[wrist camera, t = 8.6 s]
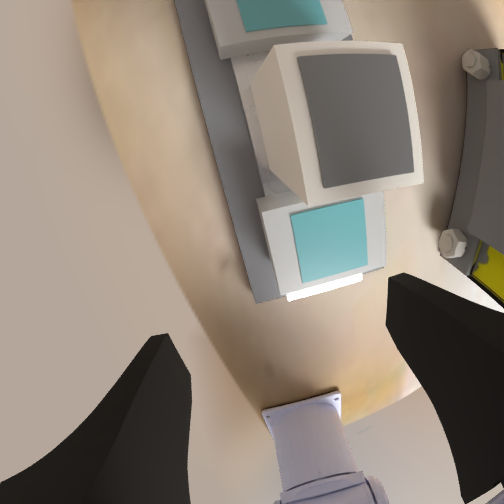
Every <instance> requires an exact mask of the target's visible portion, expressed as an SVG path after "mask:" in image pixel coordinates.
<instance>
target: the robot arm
mask: <svg viewBox="0 0 504 504" xmlns="http://www.w3.org/2000/svg"><path fill="white" fill-rule="evenodd" d="M386 327H387V329H388V331H389V333H390V335H391V337H392V339H393V341H394V343H395V345H396V347H397V349H398V350H399V352H400V353H401V355H402V356H403V358H404V359H405V361H406V362H407V364H408V365H409V367H410V368H411V370H412V371H413V373H414V374H415V376H416V378H417V379H418V381H419V382H420V384H421V385H422V387H423V388H424V390H425V391H426V393H427V394H428V396H429V398H430V400H431V402H432V404H433V405H434V407H435V410H436V412H437V414H438V417H439V419H440V421H441V423H442V426H443V428H444V431H445V434H446V437H447V439H448V442H449V445H450V448H451V452H452V455H453V458H454V462H455V465H456V470H457V474H458V480H459V484H460V491H461V497H462V498H463V501H464V503H465V504H467V503H469V502H471V501H473V500H474V499H476V498H478V497H480V496H481V495H483V494H484V493H486V492H488V491H489V490H491V489H492V488H494V487H495V486H497V485H498V484H499V483H500V482H501V484H502V486H503V488H504V313H502V312H498V311H495V310H493V309H490V308H487V307H485V306H482V305H479V304H477V303H474V302H472V301H469V300H467V299H465V298H462V297H460V296H458V295H455V294H453V293H451V292H449V291H446V290H444V289H442V288H440V287H437V286H435V285H433V284H431V283H428V282H426V281H424V280H422V279H419V278H417V277H414V276H412V275H409V274H406V273H401V274H398V275H395V276H392V277H389V278H388V298H387V314H386ZM191 406H192V391H191V375H190V373H189V371H188V369H187V367H186V366H185V364H184V362H183V360H182V359H181V357H180V355H179V353H178V351H177V350H176V348H175V346H174V344H173V342H172V340H171V338H170V336H169V334H167V333H166V334H161V335H155V336H151V337H150V338H149V339H148V341H147V342H146V343H145V344H144V346H143V347H142V348H141V350H140V351H139V352H138V354H137V355H136V356H135V358H134V359H133V360H132V362H131V363H130V364H129V366H128V367H127V368H126V370H125V371H124V372H123V374H122V375H121V377H120V378H119V379H118V381H117V382H116V383H115V385H114V386H113V387H112V388H111V389H110V391H109V392H108V393H107V395H106V396H105V397H104V398H103V400H102V401H101V402H100V403H99V404H98V406H97V407H96V408H95V409H94V410H93V412H92V413H91V414H90V415H89V416H88V417H87V418H86V419H85V420H84V421H83V422H82V423H81V424H80V425H79V427H78V428H77V429H76V430H75V431H74V432H73V433H71V434H70V435H69V436H68V437H67V438H66V439H65V440H64V441H62V442H61V443H60V444H59V445H58V446H57V447H56V448H54V449H53V450H52V451H51V452H50V453H48V454H47V455H46V456H44V457H43V458H42V459H40V460H39V461H37V462H36V463H34V464H33V465H32V466H30V467H28V468H27V469H25V470H23V471H22V472H20V473H18V474H16V475H14V476H12V477H11V478H9V479H7V480H5V481H2V482H1V483H0V504H191V503H190V495H189V484H188V471H187V460H188V444H189V431H190V418H191ZM262 416H263V418H264V420H265V422H266V425H267V427H268V429H269V431H270V433H271V436H272V438H273V440H274V442H275V447H276V453H277V458H278V464H279V470H280V476H281V482H282V487H283V492H281V493H280V497H281V500H277V501H275V502H274V504H389V501H388V498H387V495H386V492H385V490H384V488H383V486H382V484H381V482H380V481H379V480H378V479H377V478H374V477H372V476H367V477H364V474H363V471H358V468H357V465H356V462H355V459H354V457H353V454H352V451H351V448H350V445H349V442H348V439H347V436H346V434H345V431H344V428H343V425H342V422H341V393H340V391H334V392H331V393H328V394H324V395H321V396H318V397H314V398H310V399H307V400H303V401H299V402H295V403H291V404H287V405H283V406H279V407H274V408H270V409H265V410H263V411H262ZM486 504H504V490H502V491H501V492H500V493H499V494H497V495H496V496H495V497H494V498H492V499H491V500H490V501H489V502H487V503H486Z"/></svg>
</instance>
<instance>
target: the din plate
mask: <svg viewBox="0 0 504 504" xmlns="http://www.w3.org/2000/svg"><path fill="white" fill-rule="evenodd" d="M174 2H175V6H176V10H177V14H178V18H179V22H180V26H181V29H182V33H183V37H184V41H185V45H186V49H187V53H188V57H189V61H190V65H191V69H192V72H193V76H194V80H195V84H196V88H197V92H198V95H199V99H200V103H201V107H202V110H203V114H204V118H205V122H206V126H207V129H208V133H209V137H210V140H211V144H212V148H213V152H214V155H215V159H216V163H217V166H218V170H219V174H220V177H221V181H222V185H223V188H224V192H225V196H226V199H227V203H228V207H229V210H230V214H231V217H232V221H233V225H234V228H235V232H236V235H237V239H238V242H239V246H240V250H241V253H242V257H243V260H244V264H245V267H246V271H247V274H248V278H249V281H250V285H251V289H252V292H253V296H254V299H255V303H256V304H257V303H261V302H265V301H269V300H273V299H277V298H281V297H285V296H286V295H282V296H281V295H280V292H279V289H278V285H277V282H276V279H275V276H274V273H273V269H272V265H271V260H270V256H269V252H268V247H267V243H266V239H265V235H264V230H263V226H262V222H261V218H260V214H259V209H258V205H257V201H256V199H257V198H261V197H264V193H263V188H262V184H261V180H260V176H259V171H258V167H257V163H256V159H255V155H254V151H253V146H252V142H251V138H250V134H249V130H248V126H247V122H246V118H245V114H244V110H243V107H242V103H241V99H240V95H239V91H238V87H237V83H236V80H235V76H234V72H233V68H232V65H231V61H230V58H227V59H222V60H220V56H219V52H218V49H217V45H216V41H215V38H214V34H213V30H212V27H211V23H210V20H209V16H208V12H207V9H206V5H205V2H204V0H174ZM341 41H353V39H352V36H351V34H350V35H349V36H347V37H346V38H344V39H342V40H341ZM382 268H384V266H383V267H380V268H376V269H373V270H370V271H367V272H363V273H362V274H366V273H369V272H372V271H375V270H379V269H382Z"/></svg>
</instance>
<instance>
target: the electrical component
mask: <svg viewBox="0 0 504 504" xmlns="http://www.w3.org/2000/svg"><path fill="white" fill-rule="evenodd" d="M462 66H463V69H464V70H466V71H467V114H466V127H465V138H464V147H463V155H462V162H461V168H460V174H459V180H458V185H457V190H456V195H455V200H454V205H453V209H452V213H451V217H450V221H449V225H448V229H447V230H444V231H442V234H441V236H440V239H439V248H440V251H441V253H440V256H442V257H443V258H444V259H445V260H447V261H448V262H449V263H451V264H452V265H453V266H454V267H456V268H457V269H458V270H460V271H461V272H462V273H463V274H464V275H466V276H467V277H468V278H469V279H471V280H472V281H473V282H474V283H475V284H477V285H478V286H479V287H480V288H481V289H482V290H484V291H485V292H486V293H487V294H488V295H489V296H490V297H492V298H493V299H494V300H495V301H496V302H497V303H498V304H499V305H500V306H502V307H503V308H504V49H497V48H494V49H482V50H473V49H469V50H467V51H466V52H465V53H464V55H463V56H462Z"/></svg>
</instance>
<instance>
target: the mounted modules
mask: <svg viewBox="0 0 504 504" xmlns="http://www.w3.org/2000/svg"><path fill="white" fill-rule="evenodd" d="M204 2H205V5H206V9H207V12H208V16H209V20H210V23H211V27H212V30H213V34H214V38H215V41H216V45H217V49H218V52H219V56H220V60H222V59H227V58H231V57H236V56H241V55H246V54H252V53H257V52H263V51H270V50H271V49H272V47H273V46H274V45H279V44H288V43H299V42H313V41H341V40H342V39H344V38H346V37H347V36H349V35H350V34H352V33H353V30H352V27H351V24H350V21H349V18H348V15H347V12H346V9H345V7H344V4H343V1H342V0H204ZM256 201H257V205H258V209H259V214H260V218H261V222H262V226H263V230H264V235H265V239H266V243H267V247H268V252H269V256H270V260H271V265H272V269H273V273H274V276H275V279H276V282H277V285H278V289H279V292H280V295H281V296H282V295H286V294H289V293H293V292H297V291H301V290H304V289H308V288H312V287H315V286H319V285H322V284H326V283H329V282H333V281H336V280H340V279H343V278H347V277H350V276H353V275H357V274H360V273H363V272H367V271H370V270H373V269H376V268H380V267H383V266H386V224H385V206H384V192H383V191H380V192H375V193H370V194H365V195H360V196H355V197H351V198H346V199H341V200H336V201H332V202H327V203H323V204H318V205H314V206H309V207H308V206H307V205H306V204H305V203H304V202H303V201H302V200H301V199H300V198H299V197H298V196H297V195H296V194H295V193H294V192H293V191H292V190H291V191H286V192H282V193H278V194H274V195H270V196H265V197H261V198H257V199H256Z"/></svg>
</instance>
